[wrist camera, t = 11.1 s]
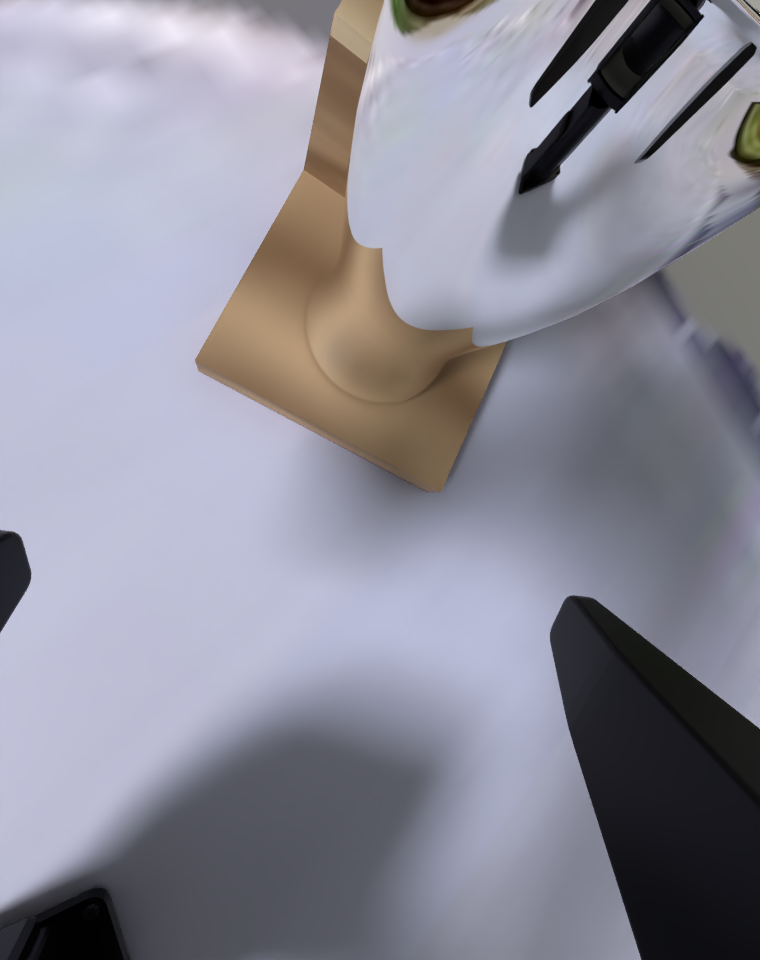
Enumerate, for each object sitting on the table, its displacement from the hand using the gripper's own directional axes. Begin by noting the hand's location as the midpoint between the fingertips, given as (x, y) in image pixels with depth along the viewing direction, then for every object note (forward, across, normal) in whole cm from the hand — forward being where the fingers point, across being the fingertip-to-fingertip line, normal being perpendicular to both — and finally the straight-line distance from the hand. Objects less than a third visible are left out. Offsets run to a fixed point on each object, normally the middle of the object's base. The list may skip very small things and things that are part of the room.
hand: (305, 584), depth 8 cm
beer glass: (+14, -1, -2) cm, 14 cm away
